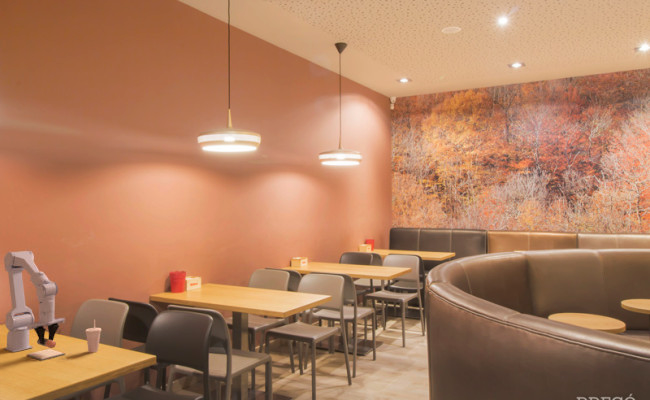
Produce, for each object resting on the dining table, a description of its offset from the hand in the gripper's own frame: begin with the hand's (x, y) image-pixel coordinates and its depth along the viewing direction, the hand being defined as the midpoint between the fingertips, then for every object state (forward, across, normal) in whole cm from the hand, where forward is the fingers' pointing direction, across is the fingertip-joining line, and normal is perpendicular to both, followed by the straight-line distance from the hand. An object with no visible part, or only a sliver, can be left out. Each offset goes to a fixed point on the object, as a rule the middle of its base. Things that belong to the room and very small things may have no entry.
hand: (46, 342), depth 195 cm
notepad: (+5, 0, 0) cm, 5 cm away
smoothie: (+6, +14, -12) cm, 19 cm away
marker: (+1, 0, 0) cm, 1 cm away
